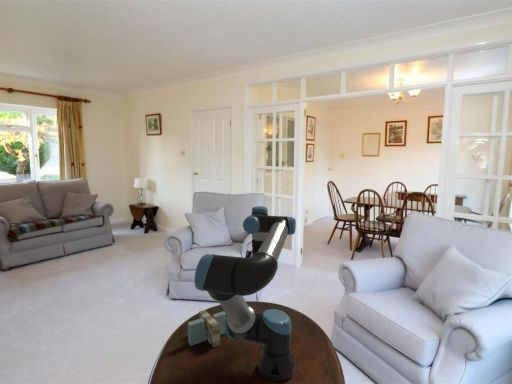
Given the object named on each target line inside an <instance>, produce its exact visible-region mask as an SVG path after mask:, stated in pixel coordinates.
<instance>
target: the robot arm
mask: <svg viewBox="0 0 512 384" xmlns="http://www.w3.org/2000/svg"><path fill="white" fill-rule="evenodd" d="M268 213H269V211H268V208H267V207H266V206H263V205H261V206H253V207H252V208H251V214H250V215H249V216H247V217H246V218H245V219H244V220H243V223H242V228H243V230H244V232H246V234H249V235H251V238H252V239H251V248H252V249H251V250H248V249H247V250H246V253H245V257H240V256H232V255H220V254H215V253H213V254H209V253H208V254H207V253H206V254H204V255H202V256H201V258H200V259H199V261H198V263H197V264H196V269H195V272H194V273H195V274H194V286H195V288H196V290H198V291H200V292H203V291H204V292H207V293H208V295H209V297H211V298H212V299H213V300H214V301H216V302H218V303H219V305H220V306H221V308H222V310H223V311H224V312H225V313H226V315H227V316H226V319H225V335H226V336H227V338H229V339H231V340H234V341H240V342H249V343H252V344H258V345H262V350H261V354H260V356H259V359H258V364H257V369H258V372H259V374H260V375H261V377H263V378H265V379H267V380H269V381H272V382H284V381H287V380H289V379H290V378H292V377H293V376H294V374H295V371H296V362H295V359H294V357H293V354H292V330H293V328H292V321H291V320H292V319H291V318H290V315H288V314H287V313H286V312H284V311H283V310H281V309H276V308H271V309H270V308H269V309H266V310H264V311H263V312H256V311H255V310H254V309H253V308H252V307H251V306H250V305H248V304H247V302H246V299H245V298H244V296H250V295H253V294H255V293H258V292H259V291H261V290H263V289H264V288H265V287H266V286H268V285H269V284H270V283H271V281H272V280H274V277H275V275H276V274H277V271H278V264H279V262H278V261H279V259H280V258H279V257H280V255H281V253H282V250H283V247H284V245H285V243H286V240H287V237H288V236H290V235H295V233H296V229H297V222H296V218H295V217H293V216H282V215H279V216H278V215H269V214H268Z"/></svg>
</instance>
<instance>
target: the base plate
mask: <svg viewBox="0 0 512 384" xmlns="http://www.w3.org/2000/svg"><path fill="white" fill-rule="evenodd" d="M226 316H227V315H226V313H225V312H224V310H223V311H220V312H216V313H214V314H212V317H213V318H214V319H215V320H216V321H217V322H218V323H219V324H220V336H222V335H226V333H225V319H226ZM206 341H208V330H207V329H206V328H205V321H204V319H203V318H201V319H199V318H197V319H195V320H192V321H188V322H187V343H188V345H189V346H190V347H192V346H194V345H198V344H200V343H203V342H206Z"/></svg>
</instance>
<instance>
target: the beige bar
mask: <svg viewBox="0 0 512 384" xmlns="http://www.w3.org/2000/svg"><path fill="white" fill-rule="evenodd" d="M201 318H203V319H204V321H205V328H206V329H207V330H208V340H207V341H208V343H209V344H210V345H211V346H212V348H215V347H218V346H220V345H221V335H220V324H219V323H218V322H217V321H216V320H215V319H214V318H213V315H211V314H210V313H209V312H208V311H207V310H206V309H203V310H201V311H198V319H201Z"/></svg>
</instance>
